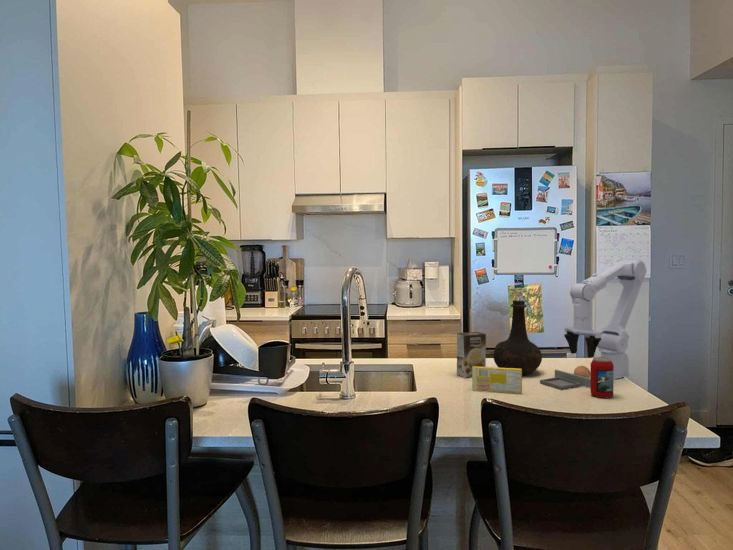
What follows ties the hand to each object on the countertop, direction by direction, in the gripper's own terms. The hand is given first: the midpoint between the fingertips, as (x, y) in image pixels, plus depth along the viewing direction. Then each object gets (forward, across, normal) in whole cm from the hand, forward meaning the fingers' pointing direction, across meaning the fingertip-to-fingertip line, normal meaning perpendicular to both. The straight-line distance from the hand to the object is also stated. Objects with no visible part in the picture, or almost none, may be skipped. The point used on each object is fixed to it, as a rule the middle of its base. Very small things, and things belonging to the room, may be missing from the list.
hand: (582, 355), depth 185 cm
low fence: (+9, 0, -4) cm, 10 cm away
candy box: (+10, -4, -35) cm, 37 cm away
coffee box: (+10, -26, -29) cm, 40 cm away
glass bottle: (+10, -21, -11) cm, 26 cm away
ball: (+7, 0, 0) cm, 7 cm away
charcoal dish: (+9, 0, -10) cm, 14 cm away
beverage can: (+10, +16, -9) cm, 21 cm away
